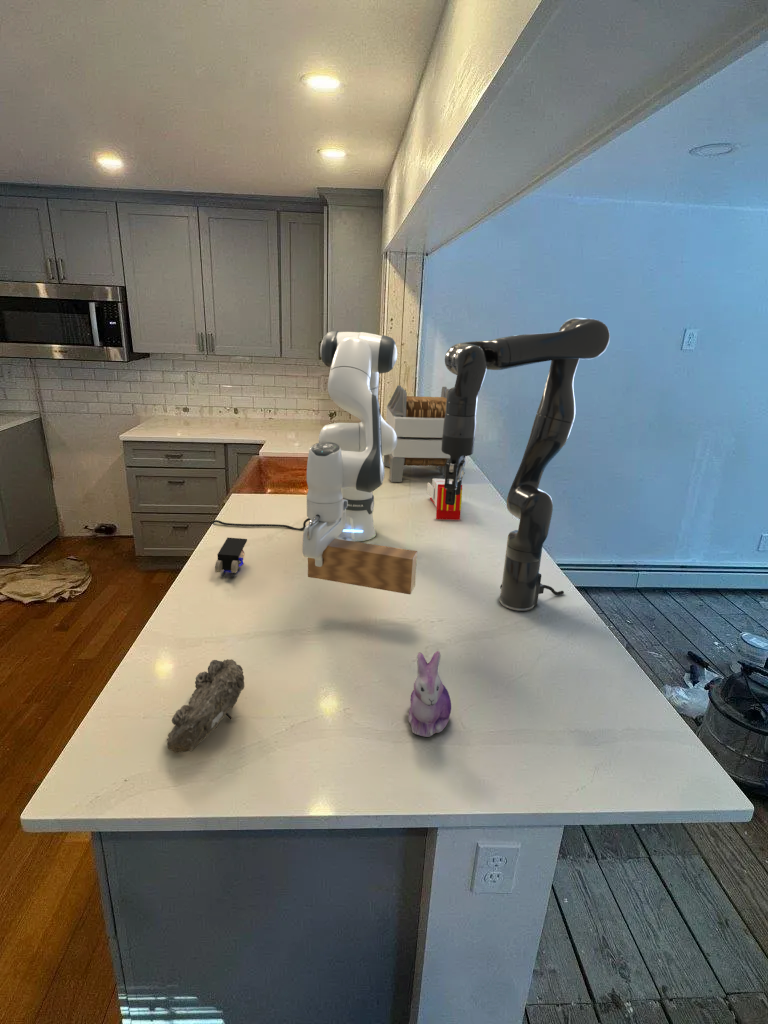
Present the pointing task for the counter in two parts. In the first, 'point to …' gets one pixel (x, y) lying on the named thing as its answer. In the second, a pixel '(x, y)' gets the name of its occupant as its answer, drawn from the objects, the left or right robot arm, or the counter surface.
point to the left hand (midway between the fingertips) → (324, 560)
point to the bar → (367, 566)
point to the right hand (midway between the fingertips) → (452, 499)
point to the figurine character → (230, 556)
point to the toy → (439, 497)
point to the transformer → (416, 432)
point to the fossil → (206, 705)
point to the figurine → (429, 699)
